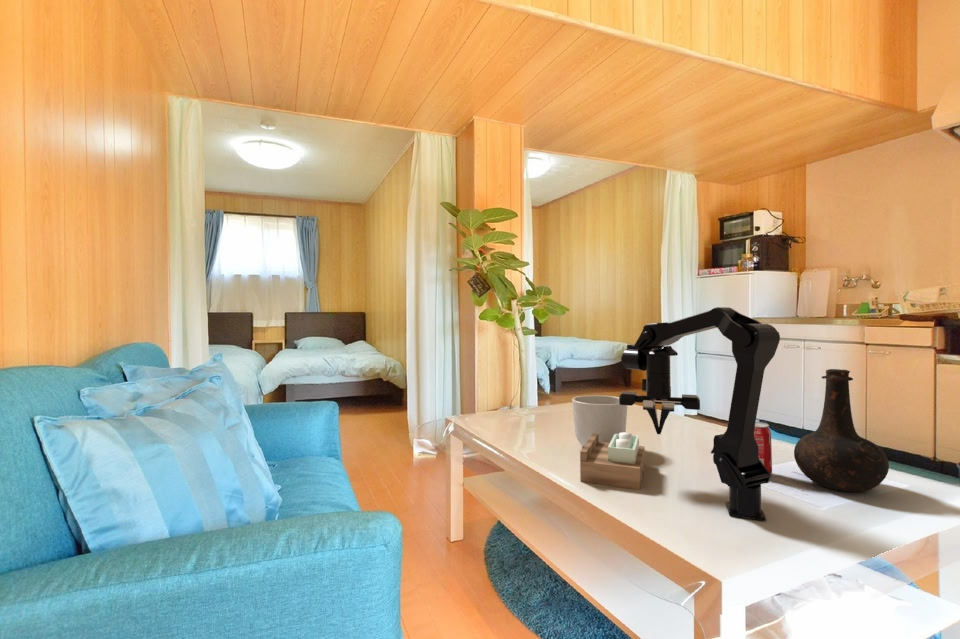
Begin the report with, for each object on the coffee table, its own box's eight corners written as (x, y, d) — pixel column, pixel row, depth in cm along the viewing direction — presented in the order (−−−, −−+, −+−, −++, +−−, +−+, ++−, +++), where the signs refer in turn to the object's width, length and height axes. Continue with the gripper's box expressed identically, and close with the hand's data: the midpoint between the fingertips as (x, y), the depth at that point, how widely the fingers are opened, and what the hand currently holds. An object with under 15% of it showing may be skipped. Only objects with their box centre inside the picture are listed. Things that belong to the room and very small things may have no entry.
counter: (639, 489, 105) (639, 458, 105) (580, 481, 111) (580, 451, 111) (644, 464, 123) (644, 437, 123) (593, 458, 129) (593, 432, 129)
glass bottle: (843, 503, 96) (841, 375, 96) (776, 475, 114) (775, 366, 114) (911, 497, 99) (910, 372, 99) (835, 471, 117) (834, 365, 117)
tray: (634, 464, 108) (634, 445, 108) (608, 460, 111) (607, 442, 111) (639, 448, 121) (638, 431, 121) (614, 446, 124) (614, 429, 124)
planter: (595, 458, 129) (595, 406, 129) (561, 444, 144) (561, 397, 144) (640, 451, 136) (639, 401, 136) (603, 438, 151) (603, 393, 151)
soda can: (777, 479, 111) (776, 427, 111) (745, 477, 112) (745, 426, 113) (765, 469, 118) (764, 421, 118) (735, 468, 119) (735, 420, 119)
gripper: (697, 370, 116) (698, 430, 116) (623, 368, 124) (623, 424, 124) (699, 375, 106) (700, 440, 106) (618, 372, 114) (619, 433, 113)
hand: (658, 434), depth 112 cm, fingers closed
